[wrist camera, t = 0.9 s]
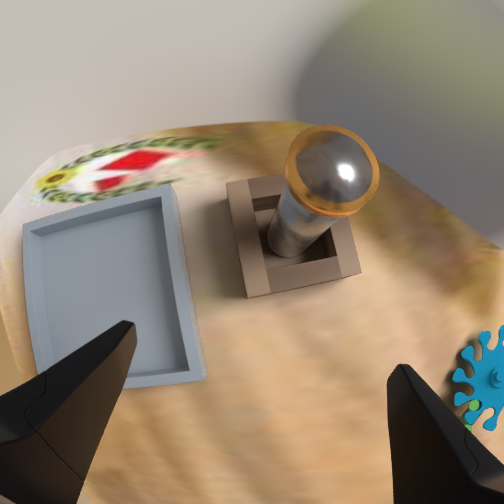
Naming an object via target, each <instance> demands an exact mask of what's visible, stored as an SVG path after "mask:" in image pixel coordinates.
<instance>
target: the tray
mask: <svg viewBox="0 0 504 504" xmlns="http://www.w3.org/2000/svg"><path fill="white" fill-rule="evenodd" d="M23 271H24V286H25V298H26V307H27V316H28V323H29V330H30V337H31V342H32V348H33V353H34V358H35V363H36V368H37V372H38V374H40V373H42V372H43V371H46V370H47V369H48V368H49V367H51V366H52V365H54V364H55V363H57V362H58V361H60V360H61V359H63V358H65V357H66V356H68V355H69V354H71V353H72V352H74V351H75V350H77V349H78V348H80V347H81V346H83V345H84V344H86V343H88V342H89V341H91V340H92V339H94V338H95V337H97V336H98V335H100V334H101V333H103V332H105V331H106V330H108V329H109V328H111V327H112V326H114V325H115V324H117V323H118V322H120V321H122V320H127V321H131V322H134V323H135V325H136V333H137V346H136V349H135V352H134V355H133V359H132V362H131V365H130V368H129V371H128V374H127V378H126V381H125V384H124V386H123V388H122V389H127V388H141V387H152V386H162V385H171V384H179V383H187V382H195V381H202V380H204V379H205V377H206V375H207V373H208V372H207V367H206V363H205V358H204V353H203V349H202V344H201V339H200V334H199V329H198V324H197V319H196V314H195V308H194V303H193V297H192V292H191V286H190V280H189V275H188V269H187V262H186V256H185V250H184V243H183V237H182V230H181V223H180V215H179V208H178V200H177V195H176V193H175V192H174V190H173V188H172V186H171V184H169V185H164V186H159V187H155V188H151V189H146V190H142V191H138V192H134V193H130V194H126V195H122V196H118V197H114V198H110V199H106V200H102V201H99V202H95V203H91V204H88V205H84V206H81V207H77V208H74V209H70V210H67V211H63V212H60V213H57V214H54V215H50V216H47V217H44V218H41V219H38V220H35V221H32V222H29V223H26V224H23Z"/></svg>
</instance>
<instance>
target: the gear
mask: <svg viewBox="0 0 504 504" xmlns="http://www.w3.org/2000/svg"><path fill="white" fill-rule="evenodd" d="M498 334H499V340H498V344H497V346H496V348H495V349H494V350H492V351H491V350H488V348H487V344H488V342H489V340H490V338H491V333H490V331H485V332H482V333H480V334H479V337H478V341H479V343H480V344H481V346H482V352H483V353H482V360H481V361H478V362H477V361H475V360H474V359H473V355H474V349H473V347H472V346H468V347H467V348H465V349H464V350H463V352H462V353H461V357H462V359H463V360H465V361H467V362H469V363H470V365H471V366H472V368H473V371H474V376H473V377H472V378H467V377H466V376H465V373H464V371H463V369H461V368H457V370H456V371H455V373H454V375H453V378H452V381H453V382H455V383H466V384H468V385H470V386H471V387H472V388H473V390H474V392H473V395H471V396H466V395H465V394H464V393H462V392H458V393H456V394H455V397H454V405H455V406H457V407H458V406H461V405H462V404H464V403H465V402H468V401H471V402H470V403H469V405H468V408H467V410H466V411H465V412H464V413H463V415H462V417H461V422H462V423H463V424H464V425H465V427H467V428H468V429H469V431H470V432H471V430H472V427H471V425H473V424H474V423H475V421H476V420H477V419H478V417H479V416H480V415H481V414H482V412H483V411H484V410H486V409H488V408H493V409H494V415H493V416H492V417H491V418H489V419H487V420H486V421H485V422H484V424H483V428H484V429H486V430H489V431H493V430H494V429H495V428H496V425H497V418H498V415H499V413H500V411H501V410H502V408H503V407H504V346H503V344H502V341H503V340H504V325H502V326H501V327H500V329H499V333H498Z"/></svg>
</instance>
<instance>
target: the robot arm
mask: <svg viewBox="0 0 504 504" xmlns="http://www.w3.org/2000/svg"><path fill="white" fill-rule="evenodd" d="M136 346H137V333H136V325H135V323H134V322H131V321H127V320H122V321H120V322H118V323H117V324H115V325H114V326H112V327H111V328H109V329H108V330H106V331H105V332H103V333H101V334H100V335H98V336H97V337H95V338H94V339H92V340H91V341H89V342H88V343H86V344H84V345H83V346H81V347H80V348H78V349H77V350H75V351H74V352H72V353H71V354H69V355H68V356H66V357H65V358H63V359H61V360H60V361H58V362H57V363H55V364H54V365H52V366H51V367H49V368H48V369H47V370H46V371H43V372H42V373H40V374H38V375H37V376H35V377H34V378H32V379H31V380H29V381H27V382H26V383H24V384H22V385H20V386H18V387H17V388H15V389H13V390H11V391H9V392H7V393H5V394H3V395H1V396H0V504H76V503H77V500H78V498H79V495H80V492H81V489H82V487H83V484H84V481H85V478H86V476H87V473H88V470H89V468H90V465H91V462H92V460H93V457H94V455H95V452H96V450H97V447H98V445H99V442H100V440H101V437H102V435H103V433H104V430H105V428H106V425H107V423H108V421H109V418H110V416H111V414H112V411H113V409H114V407H115V404H116V402H117V400H118V397H119V395H120V393H121V391H122V388H123V386H124V384H125V381H126V378H127V374H128V371H129V368H130V365H131V362H132V359H133V355H134V352H135V349H136ZM387 416H388V429H389V438H390V449H391V461H392V476H393V498H394V504H504V465H503V464H502V463H501V462H500V461H499V460H498V459H497V458H496V457H495V456H494V455H493V454H492V453H491V452H490V451H489V450H488V449H487V448H486V447H485V446H484V445H483V444H482V443H481V442H480V441H479V440H478V439H477V438H476V437H475V436H474V435H473V434H472V433H471V432H470V431H469V429H468V428H467V427H465V425H464V424H463V423H462V422H461V420H460V419H459V418H458V417H457V416H456V415H455V414H454V413H453V412H452V410H451V409H450V408H449V407H448V406H447V405H446V404H445V403H444V402H443V401H442V399H441V398H440V397H439V396H438V395H437V394H436V393H435V392H434V391H433V390H432V389H431V387H430V386H429V385H428V384H427V383H426V382H425V381H424V380H423V379H422V378H421V377H420V376H419V375H418V374H417V372H416V371H415V370H414V369H413V368H412V367H411V366H410V365H408V364H398V365H397V366H396V368H395V369H394V370H393V372H392V373H391V375H390V376H389V378H388V380H387Z"/></svg>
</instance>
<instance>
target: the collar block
mask: <svg viewBox="0 0 504 504" xmlns="http://www.w3.org/2000/svg"><path fill="white" fill-rule="evenodd" d="M285 183H286V181H285V176H284V174H279V175H272V176H266V177H259V178H253V179H247V180H241V181H235V182H229V183H226V187H227V196H228V202H229V207H230V213H231V218H232V223H233V229H234V234H235V239H236V244H237V250H238V255H239V260H240V265H241V270H242V275H243V280H244V286H245V291H246V296H247V299H248V298H253V297H258V296H263V295H268V294H273V293H278V292H283V291H287V290H292V289H297V288H302V287H306V286H311V285H315V284H320V283H324V282H329V281H333V280H338V279H342V278H346V277H350V276H353V275H356V274H359V273H362V272H361V268H360V263H359V259H358V255H357V251H356V247H355V243H354V239H353V235H352V231H351V227H350V223H349V220H348V216H346V217H342V218H339V219H338V220H337V221H336V222H334V223H333V224H332V225H331V226H330V227H329V228H328V229H327V230H326V231H325V232H324V233H323V234H322V235H321V236H320V240H321V244H322V249H323V253H324V257H325V259H320V260H315V261H310V262H305V263H300V264H296V265H291V266H285V267H280V268H275V269H270V270H266V267H265V262H264V257H263V252H262V248H261V243H260V238H259V233H258V228H257V224H256V219H255V214H254V211H260V210H266V209H272V208H277V205H278V202H279V200H280V197H281V194H282V191H283V188H284V186H285Z"/></svg>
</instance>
